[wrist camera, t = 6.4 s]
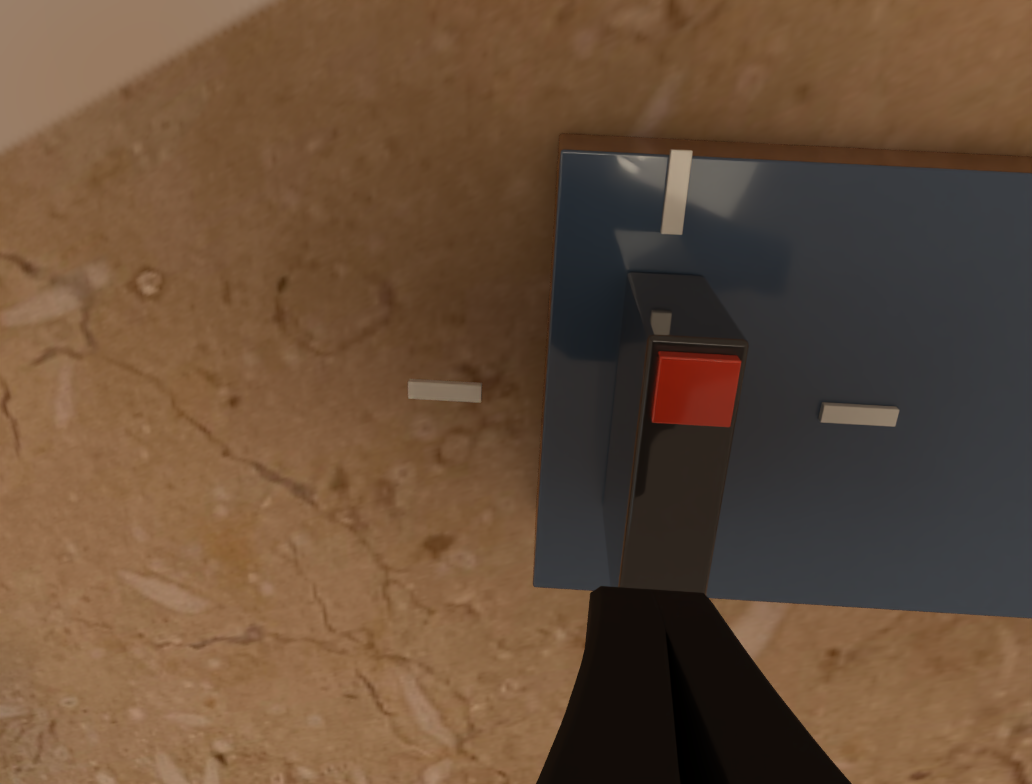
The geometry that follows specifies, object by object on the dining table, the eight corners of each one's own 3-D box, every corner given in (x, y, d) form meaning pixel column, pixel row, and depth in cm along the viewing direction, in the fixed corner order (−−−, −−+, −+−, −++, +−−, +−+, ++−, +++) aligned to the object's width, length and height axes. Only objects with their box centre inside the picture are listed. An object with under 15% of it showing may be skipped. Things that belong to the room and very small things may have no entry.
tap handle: (670, 516, 16) (703, 644, 12) (601, 512, 16) (615, 638, 12) (706, 274, 14) (756, 347, 10) (626, 271, 14) (650, 341, 10)
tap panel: (431, 509, 20) (410, 588, 17) (431, 121, 16) (404, 136, 13) (1107, 550, 19) (1204, 639, 16) (1265, 163, 16) (1428, 187, 13)
